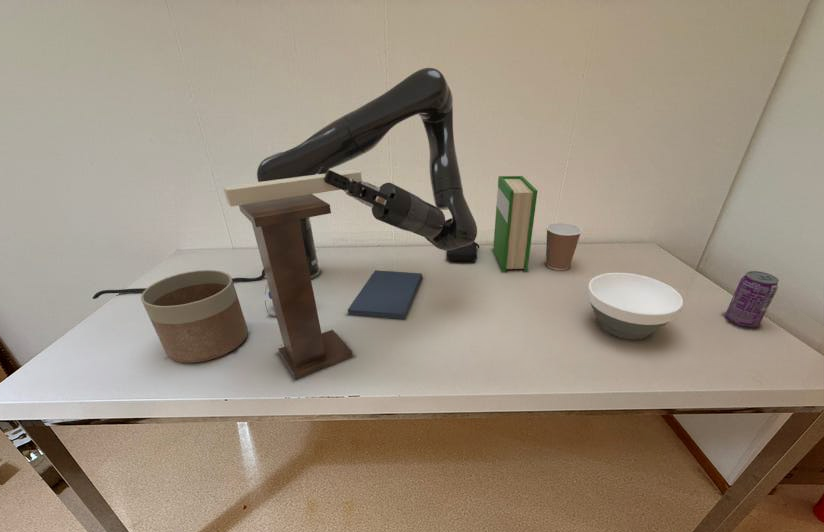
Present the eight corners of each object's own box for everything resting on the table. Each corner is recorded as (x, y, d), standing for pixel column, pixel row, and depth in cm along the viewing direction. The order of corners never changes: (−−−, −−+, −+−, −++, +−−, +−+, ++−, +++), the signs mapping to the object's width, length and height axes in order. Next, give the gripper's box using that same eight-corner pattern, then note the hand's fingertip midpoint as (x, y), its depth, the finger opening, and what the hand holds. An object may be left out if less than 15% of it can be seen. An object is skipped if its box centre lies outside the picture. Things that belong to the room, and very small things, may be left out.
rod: (231, 206, 59) (226, 190, 58) (227, 202, 61) (222, 186, 60) (362, 186, 71) (361, 171, 69) (356, 183, 72) (354, 169, 71)
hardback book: (527, 271, 117) (537, 190, 105) (502, 272, 117) (510, 190, 104) (514, 249, 132) (522, 175, 120) (493, 249, 132) (498, 176, 119)
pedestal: (295, 379, 75) (253, 217, 58) (279, 354, 82) (237, 202, 65) (352, 356, 81) (329, 204, 65) (333, 334, 88) (308, 191, 71)
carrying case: (480, 264, 121) (478, 246, 134) (480, 255, 120) (479, 237, 132) (446, 263, 122) (448, 245, 134) (446, 254, 120) (448, 237, 133)
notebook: (348, 314, 95) (347, 309, 95) (375, 274, 114) (375, 270, 114) (404, 319, 94) (403, 314, 93) (422, 278, 113) (422, 273, 112)
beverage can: (753, 316, 96) (775, 272, 90) (762, 331, 91) (786, 285, 84) (720, 311, 98) (739, 268, 92) (728, 325, 93) (748, 280, 86)
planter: (173, 331, 89) (149, 277, 82) (249, 317, 94) (233, 265, 87) (160, 373, 76) (131, 313, 69) (248, 354, 82) (230, 297, 75)
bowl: (689, 347, 85) (704, 310, 80) (606, 356, 82) (617, 318, 77) (638, 303, 101) (648, 269, 96) (567, 309, 99) (574, 275, 94)
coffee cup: (548, 256, 127) (554, 220, 121) (579, 264, 122) (587, 227, 116) (535, 266, 120) (540, 229, 114) (567, 275, 115) (574, 237, 109)
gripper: (390, 184, 83) (314, 146, 71) (427, 199, 74) (347, 159, 61) (377, 217, 84) (301, 186, 72) (411, 236, 75) (331, 204, 63)
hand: (323, 174), depth 67 cm, fingers closed on rod, 2 cm apart
